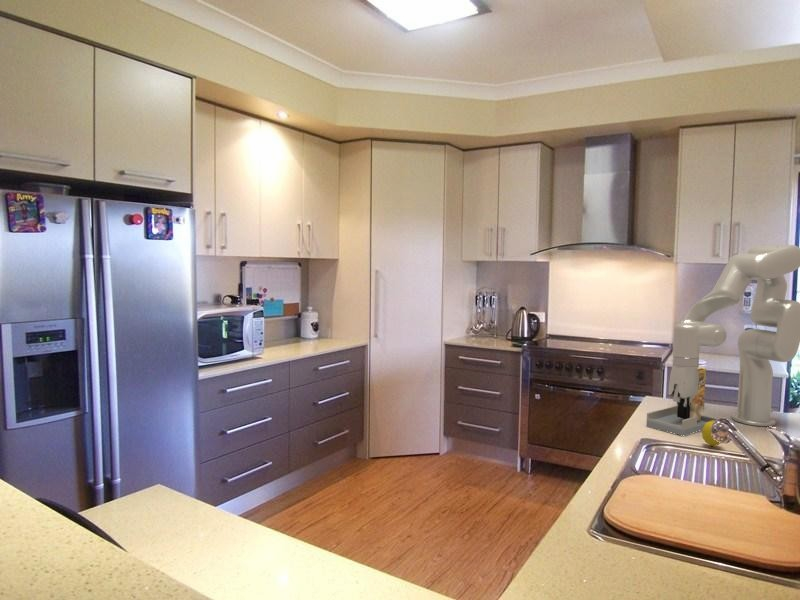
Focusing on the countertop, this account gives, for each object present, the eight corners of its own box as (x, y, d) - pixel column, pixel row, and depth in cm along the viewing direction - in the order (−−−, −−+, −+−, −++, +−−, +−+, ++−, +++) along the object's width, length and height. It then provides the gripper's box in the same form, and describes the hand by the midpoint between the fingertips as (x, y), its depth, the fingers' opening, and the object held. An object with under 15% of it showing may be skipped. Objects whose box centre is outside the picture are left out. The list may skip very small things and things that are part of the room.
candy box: (689, 411, 200) (691, 369, 198) (678, 408, 203) (680, 367, 202) (704, 408, 204) (706, 367, 203) (693, 405, 207) (695, 365, 206)
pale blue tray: (682, 416, 193) (683, 402, 193) (718, 425, 183) (719, 410, 183) (646, 426, 181) (647, 411, 181) (682, 436, 171) (683, 420, 170)
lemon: (727, 450, 159) (728, 423, 158) (707, 450, 159) (709, 423, 158) (716, 443, 164) (717, 417, 164) (697, 443, 164) (699, 417, 164)
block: (684, 417, 184) (688, 403, 185) (700, 421, 180) (703, 406, 181) (677, 415, 182) (680, 400, 182) (692, 418, 177) (696, 403, 178)
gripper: (686, 357, 185) (684, 411, 186) (661, 362, 176) (659, 418, 178) (709, 361, 178) (707, 416, 180) (684, 366, 170) (682, 424, 172)
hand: (683, 417), depth 179 cm, fingers closed
